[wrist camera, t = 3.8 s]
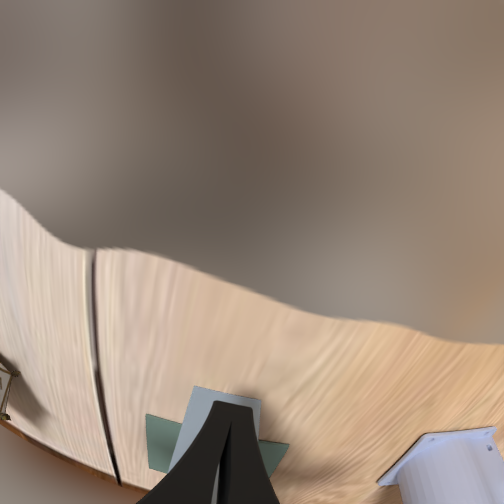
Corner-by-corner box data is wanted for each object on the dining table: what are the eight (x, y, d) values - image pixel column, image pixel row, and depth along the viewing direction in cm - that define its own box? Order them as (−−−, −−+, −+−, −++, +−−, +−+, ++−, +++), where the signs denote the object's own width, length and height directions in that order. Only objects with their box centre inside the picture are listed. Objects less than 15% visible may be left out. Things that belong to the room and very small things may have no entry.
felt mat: (289, 444, 18) (289, 446, 18) (260, 490, 22) (260, 492, 21) (146, 413, 18) (145, 415, 18) (149, 466, 21) (149, 468, 21)
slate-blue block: (261, 400, 17) (251, 522, 9) (247, 435, 18) (235, 539, 11) (194, 385, 17) (158, 503, 9) (188, 423, 18) (160, 524, 11)
